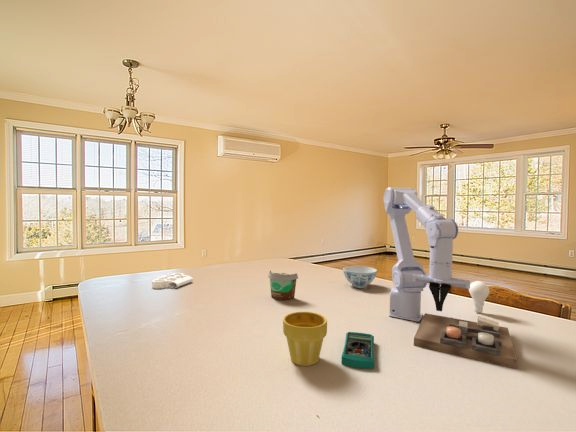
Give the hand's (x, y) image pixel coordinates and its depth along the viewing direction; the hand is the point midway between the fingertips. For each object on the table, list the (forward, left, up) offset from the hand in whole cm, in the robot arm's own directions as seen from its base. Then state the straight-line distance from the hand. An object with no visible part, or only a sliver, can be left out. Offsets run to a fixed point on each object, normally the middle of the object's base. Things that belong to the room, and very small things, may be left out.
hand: (439, 310), depth 88 cm
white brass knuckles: (-109, -3, -8) cm, 109 cm away
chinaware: (-36, +41, -8) cm, 55 cm away
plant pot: (-26, -32, -8) cm, 42 cm away
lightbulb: (+10, +29, -8) cm, 32 cm away
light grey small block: (+6, 0, -5) cm, 8 cm away
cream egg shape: (+11, -7, -4) cm, 14 cm away
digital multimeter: (-16, -22, -8) cm, 28 cm away
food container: (-56, +5, -8) cm, 57 cm away
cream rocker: (+12, +8, -4) cm, 15 cm away
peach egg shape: (+4, -7, -4) cm, 9 cm away
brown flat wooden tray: (+6, +1, -7) cm, 10 cm away
